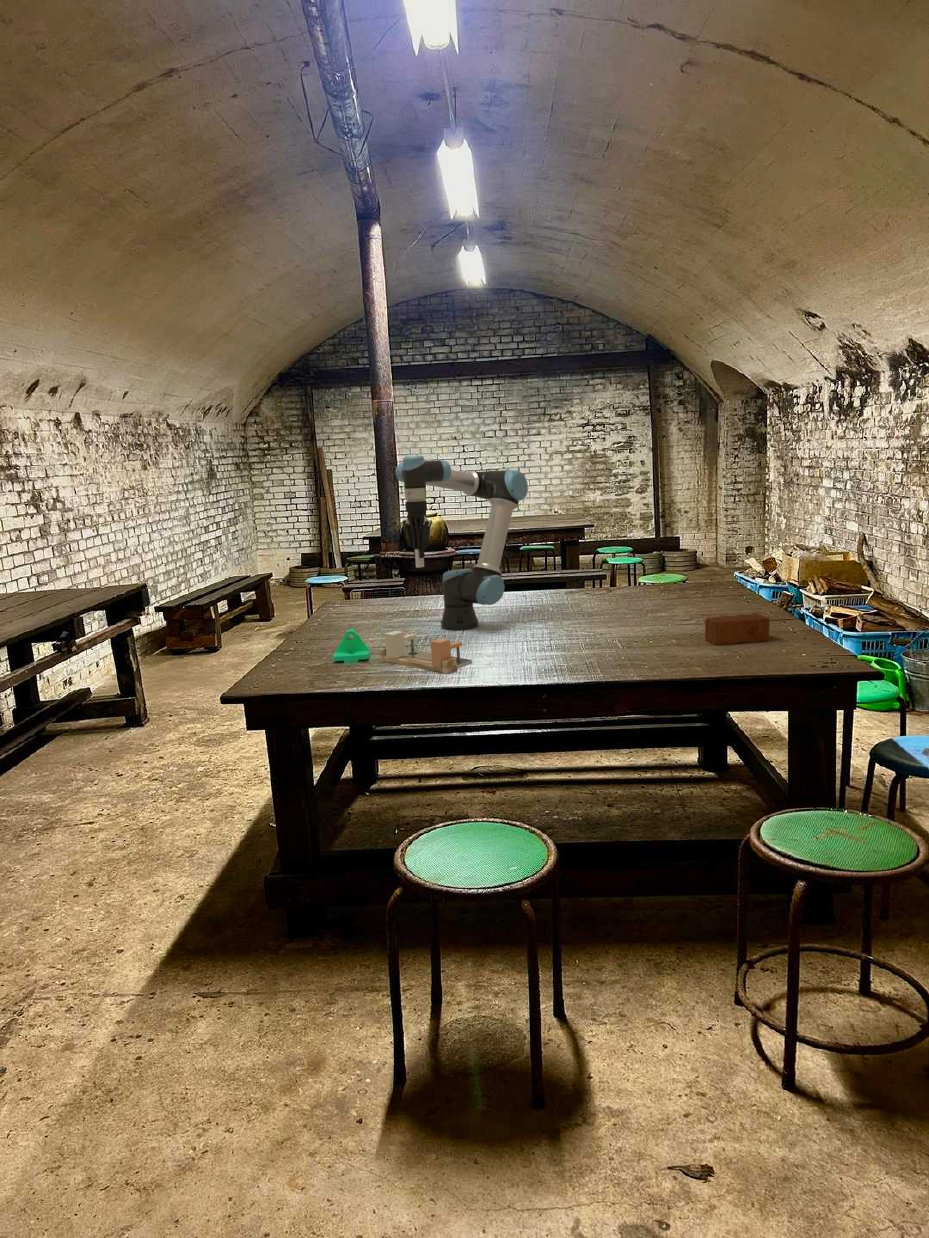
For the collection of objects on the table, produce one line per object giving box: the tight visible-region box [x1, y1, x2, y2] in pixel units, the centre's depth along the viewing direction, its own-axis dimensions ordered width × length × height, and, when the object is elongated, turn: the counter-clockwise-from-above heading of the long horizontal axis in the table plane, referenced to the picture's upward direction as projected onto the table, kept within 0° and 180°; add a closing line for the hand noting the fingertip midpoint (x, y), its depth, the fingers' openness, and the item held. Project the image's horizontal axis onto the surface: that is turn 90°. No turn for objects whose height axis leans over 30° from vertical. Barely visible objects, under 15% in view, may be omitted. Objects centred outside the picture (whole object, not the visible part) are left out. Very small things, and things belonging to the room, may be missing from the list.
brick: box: [704, 613, 771, 646], centre depth 266 cm, size 20×8×8 cm, turn 98°
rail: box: [378, 647, 458, 675], centre depth 256 cm, size 5×32×4 cm, turn 48°
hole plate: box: [404, 649, 473, 669], centre depth 262 cm, size 8×28×1 cm, turn 48°
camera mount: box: [332, 628, 371, 664], centre depth 267 cm, size 12×8×10 cm, turn 93°
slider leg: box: [430, 637, 463, 668], centre depth 250 cm, size 12×4×8 cm, turn 138°
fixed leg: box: [384, 630, 417, 659], centre depth 264 cm, size 12×4×8 cm, turn 138°
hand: (420, 567), depth 275 cm, fingers closed
